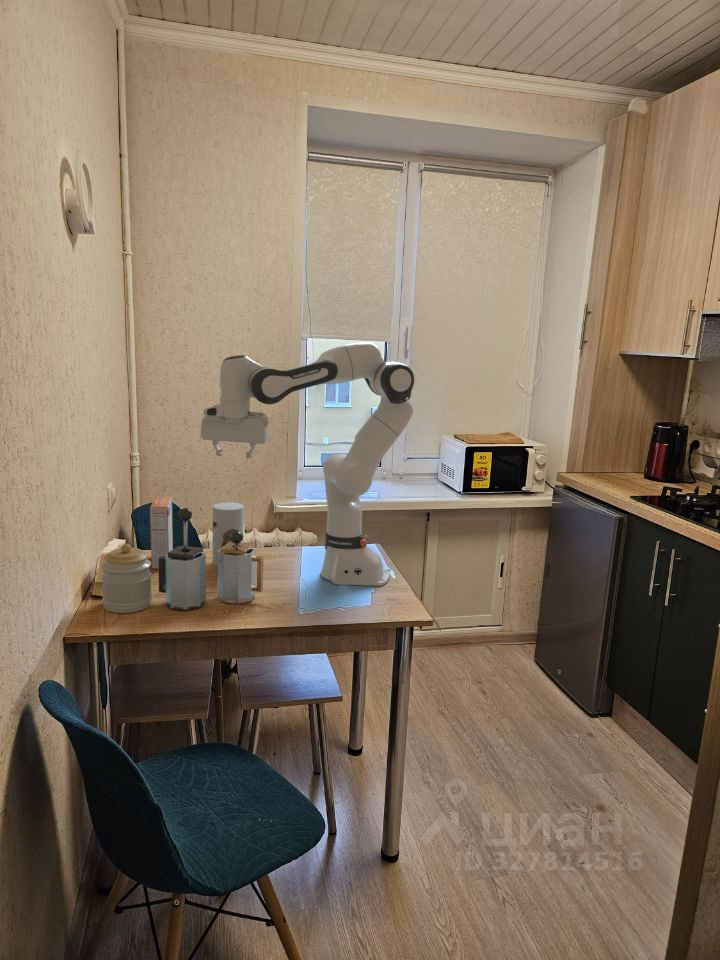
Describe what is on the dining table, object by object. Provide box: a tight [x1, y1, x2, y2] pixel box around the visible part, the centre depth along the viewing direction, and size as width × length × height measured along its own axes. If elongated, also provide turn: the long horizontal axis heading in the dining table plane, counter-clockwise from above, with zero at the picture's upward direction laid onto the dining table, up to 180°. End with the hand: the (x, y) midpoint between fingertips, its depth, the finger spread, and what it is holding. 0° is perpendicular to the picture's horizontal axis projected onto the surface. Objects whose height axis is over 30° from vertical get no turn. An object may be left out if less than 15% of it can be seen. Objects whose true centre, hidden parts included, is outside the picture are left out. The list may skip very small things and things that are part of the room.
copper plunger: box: [231, 531, 244, 555], centre depth 190 cm, size 8×8×17 cm
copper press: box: [217, 542, 264, 605], centre depth 191 cm, size 13×10×16 cm
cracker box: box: [149, 496, 174, 570], centre depth 218 cm, size 14×6×21 cm, turn 10°
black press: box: [158, 545, 207, 612], centre depth 185 cm, size 13×10×16 cm
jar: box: [100, 543, 153, 614], centre depth 182 cm, size 13×13×18 cm
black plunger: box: [178, 507, 193, 560], centre depth 183 cm, size 8×8×17 cm
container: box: [212, 502, 245, 568], centre depth 220 cm, size 10×10×20 cm
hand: (234, 456), depth 199 cm, fingers open, 8 cm apart
